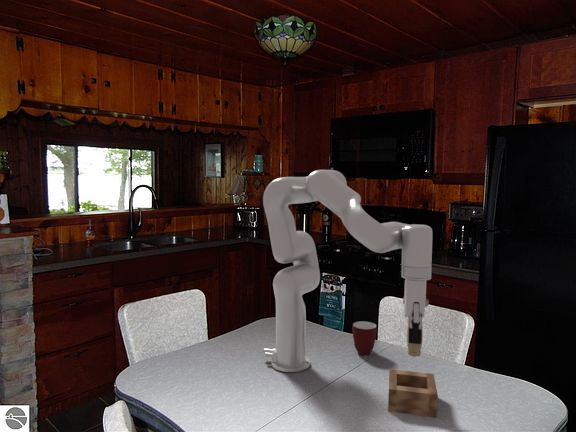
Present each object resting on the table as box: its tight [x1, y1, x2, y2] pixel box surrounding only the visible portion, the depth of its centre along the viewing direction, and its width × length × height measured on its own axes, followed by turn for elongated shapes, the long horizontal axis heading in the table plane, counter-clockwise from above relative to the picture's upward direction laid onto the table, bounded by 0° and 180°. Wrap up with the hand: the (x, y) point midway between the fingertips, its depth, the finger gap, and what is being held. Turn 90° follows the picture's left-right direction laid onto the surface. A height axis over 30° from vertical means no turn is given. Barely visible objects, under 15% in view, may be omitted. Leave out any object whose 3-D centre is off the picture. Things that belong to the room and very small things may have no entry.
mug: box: [352, 320, 378, 356], centre depth 151 cm, size 11×8×10 cm
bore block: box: [387, 368, 439, 418], centre depth 118 cm, size 12×12×6 cm
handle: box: [402, 297, 429, 358], centre depth 116 cm, size 5×6×15 cm
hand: (414, 339), depth 116 cm, fingers closed on handle, 3 cm apart
